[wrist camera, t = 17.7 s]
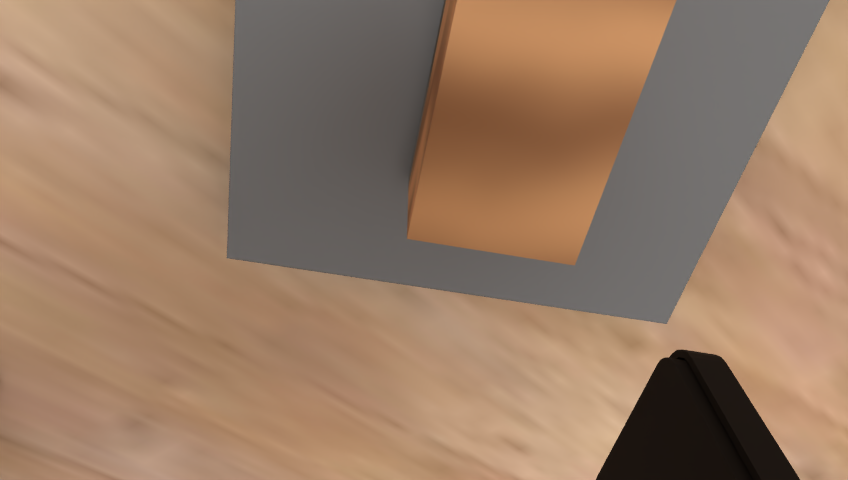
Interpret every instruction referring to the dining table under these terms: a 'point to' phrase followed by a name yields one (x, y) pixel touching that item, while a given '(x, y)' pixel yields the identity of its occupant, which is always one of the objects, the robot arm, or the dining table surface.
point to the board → (398, 127)
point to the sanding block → (527, 120)
